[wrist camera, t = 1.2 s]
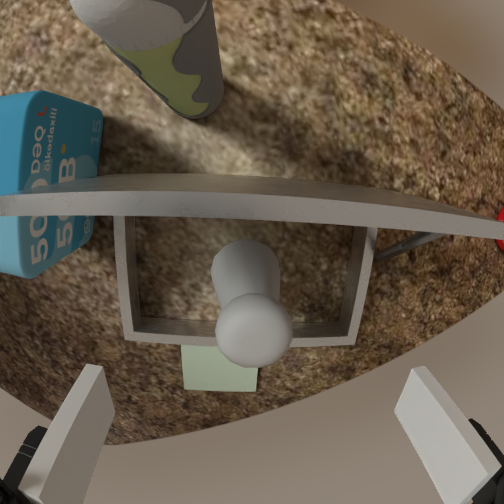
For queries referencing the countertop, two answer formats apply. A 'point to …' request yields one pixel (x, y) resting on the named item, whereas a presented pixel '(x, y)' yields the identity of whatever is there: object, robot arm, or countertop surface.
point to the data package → (44, 174)
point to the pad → (214, 371)
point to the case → (254, 208)
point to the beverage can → (502, 217)
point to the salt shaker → (250, 304)
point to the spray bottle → (163, 47)
